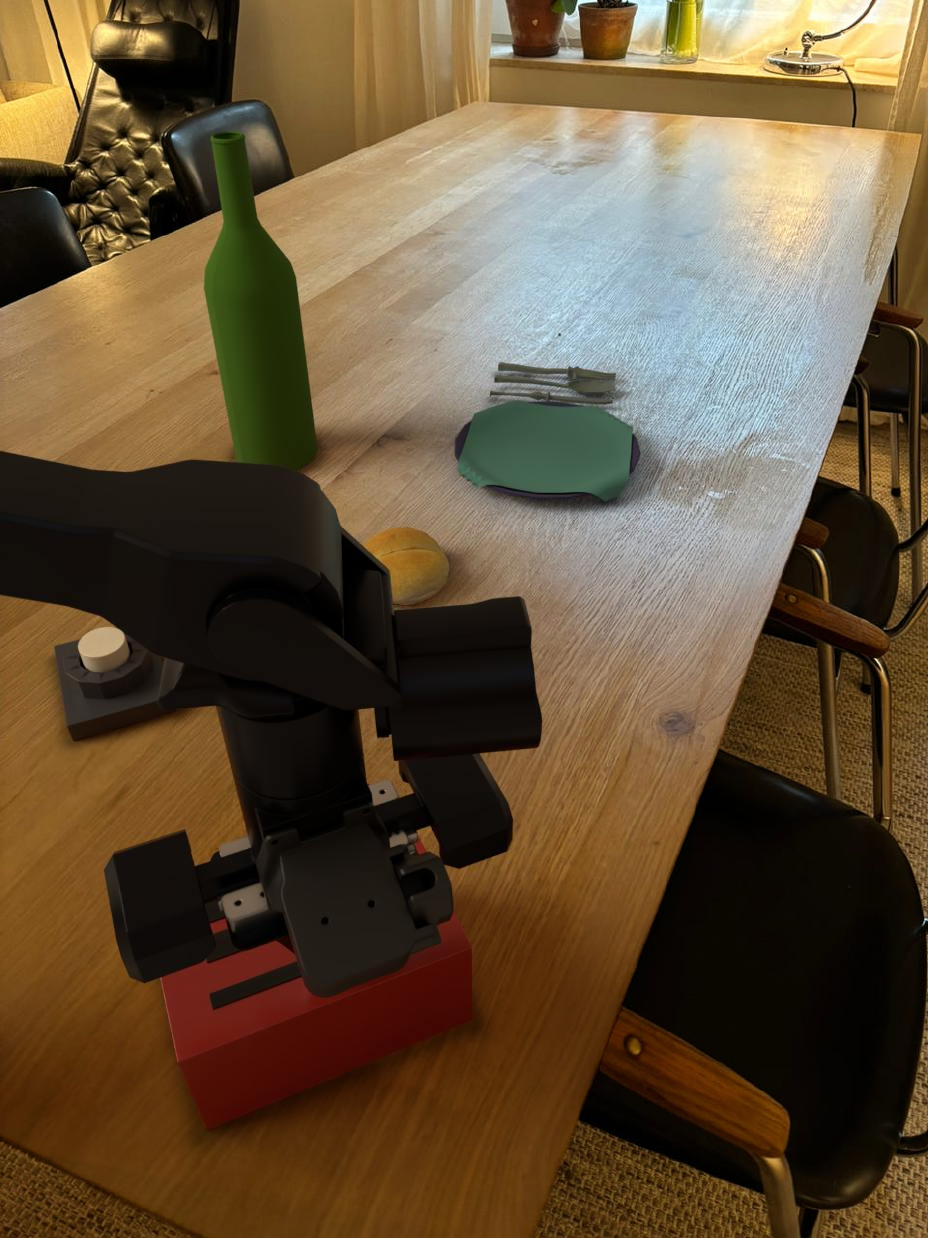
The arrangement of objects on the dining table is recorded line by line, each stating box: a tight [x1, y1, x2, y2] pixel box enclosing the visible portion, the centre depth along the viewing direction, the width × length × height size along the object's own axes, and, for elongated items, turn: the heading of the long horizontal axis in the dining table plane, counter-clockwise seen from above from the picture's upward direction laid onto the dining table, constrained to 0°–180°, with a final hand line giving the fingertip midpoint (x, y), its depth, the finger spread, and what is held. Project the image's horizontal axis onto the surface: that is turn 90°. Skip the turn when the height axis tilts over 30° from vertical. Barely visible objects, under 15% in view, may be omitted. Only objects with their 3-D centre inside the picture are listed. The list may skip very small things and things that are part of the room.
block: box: [53, 626, 177, 742], centre depth 80 cm, size 8×10×4 cm
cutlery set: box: [454, 361, 642, 503], centre depth 110 cm, size 20×30×2 cm, turn 170°
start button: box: [78, 626, 130, 673], centre depth 79 cm, size 4×4×2 cm
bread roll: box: [362, 526, 450, 606], centre depth 90 cm, size 8×9×4 cm
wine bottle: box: [203, 130, 318, 472], centre depth 98 cm, size 9×9×32 cm
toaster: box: [159, 834, 474, 1131], centre depth 58 cm, size 16×10×8 cm, turn 113°
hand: (331, 945), depth 53 cm, fingers closed on slider, 2 cm apart
